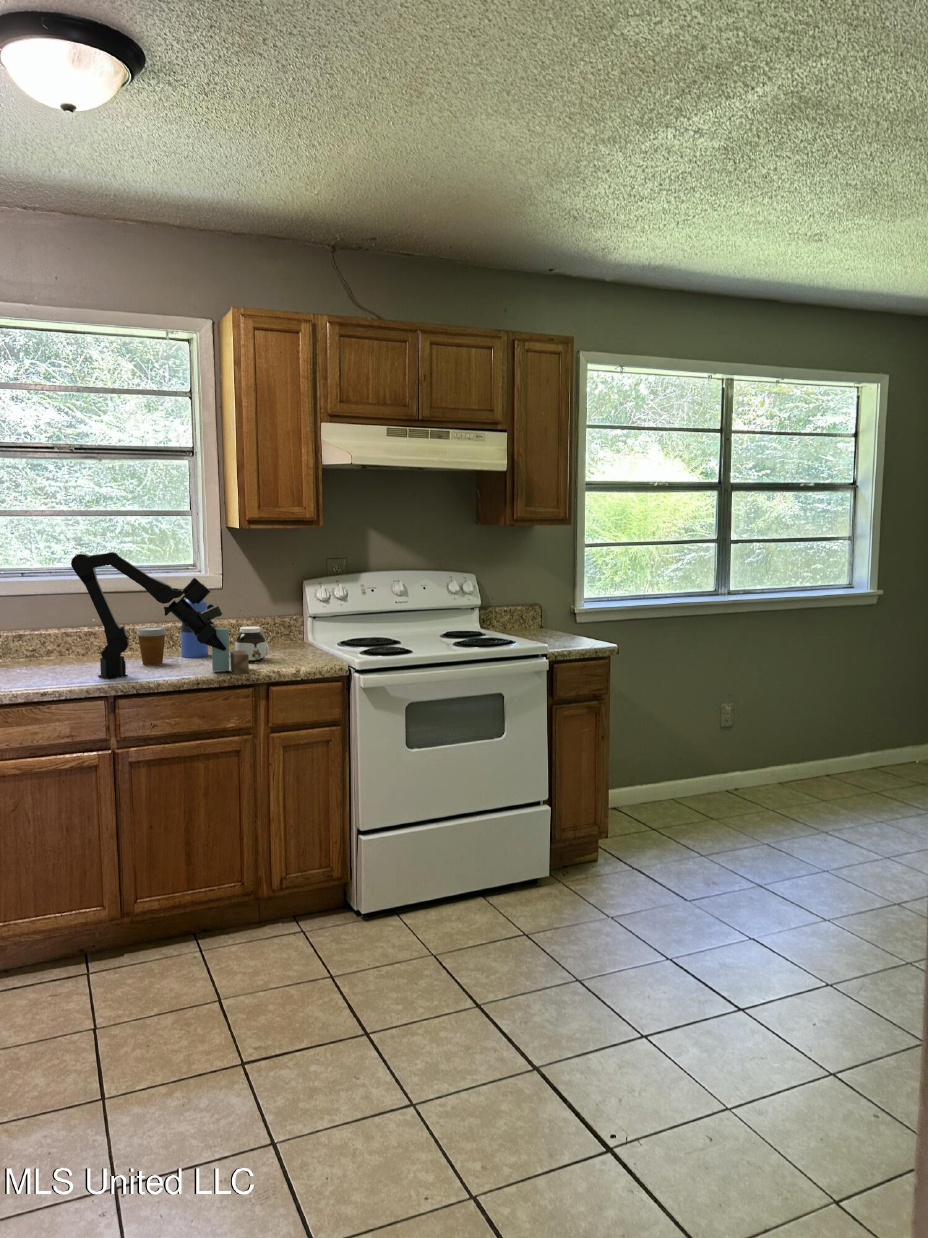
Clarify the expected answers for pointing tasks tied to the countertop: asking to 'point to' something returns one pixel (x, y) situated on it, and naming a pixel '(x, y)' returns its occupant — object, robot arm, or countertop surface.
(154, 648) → the disposable coffee cup
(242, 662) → the block
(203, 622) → the robot arm
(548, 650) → the countertop surface
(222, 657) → the teal block
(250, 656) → the spread jar
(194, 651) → the water bottle
